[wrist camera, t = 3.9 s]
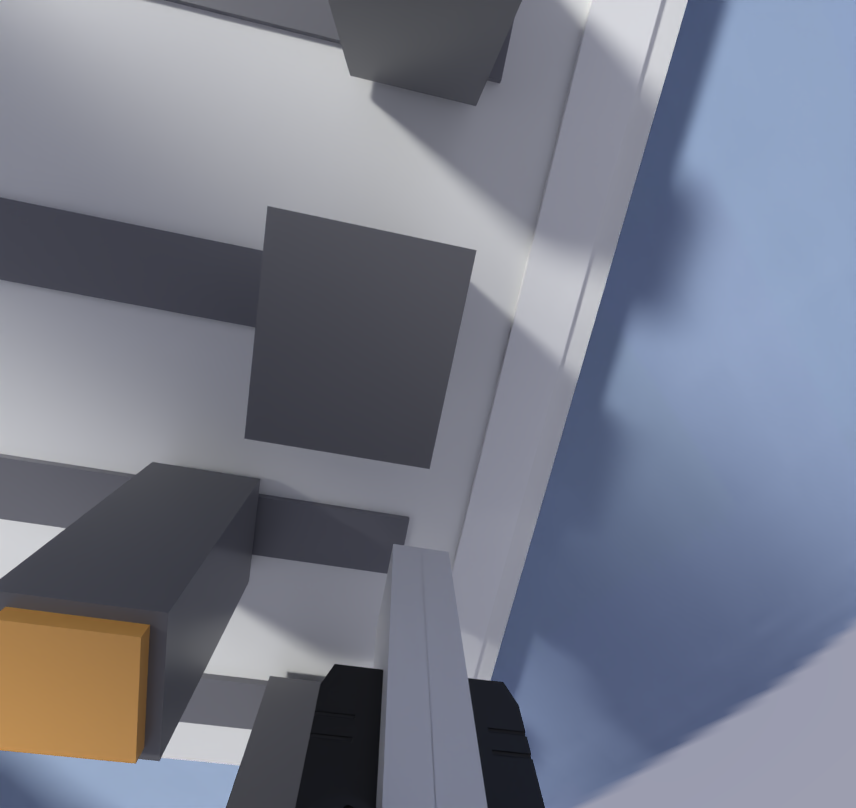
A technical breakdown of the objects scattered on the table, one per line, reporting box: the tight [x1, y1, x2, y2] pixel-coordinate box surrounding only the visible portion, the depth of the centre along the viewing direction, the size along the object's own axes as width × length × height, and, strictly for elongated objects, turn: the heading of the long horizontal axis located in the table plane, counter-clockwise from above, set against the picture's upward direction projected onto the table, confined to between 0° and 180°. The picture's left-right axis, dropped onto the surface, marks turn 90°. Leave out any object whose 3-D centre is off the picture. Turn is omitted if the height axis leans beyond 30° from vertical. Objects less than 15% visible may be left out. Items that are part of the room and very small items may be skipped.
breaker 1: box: [0, 462, 260, 763], centre depth 11 cm, size 3×4×6 cm
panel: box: [0, 0, 688, 765], centre depth 14 cm, size 20×28×2 cm
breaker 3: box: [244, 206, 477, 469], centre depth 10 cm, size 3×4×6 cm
